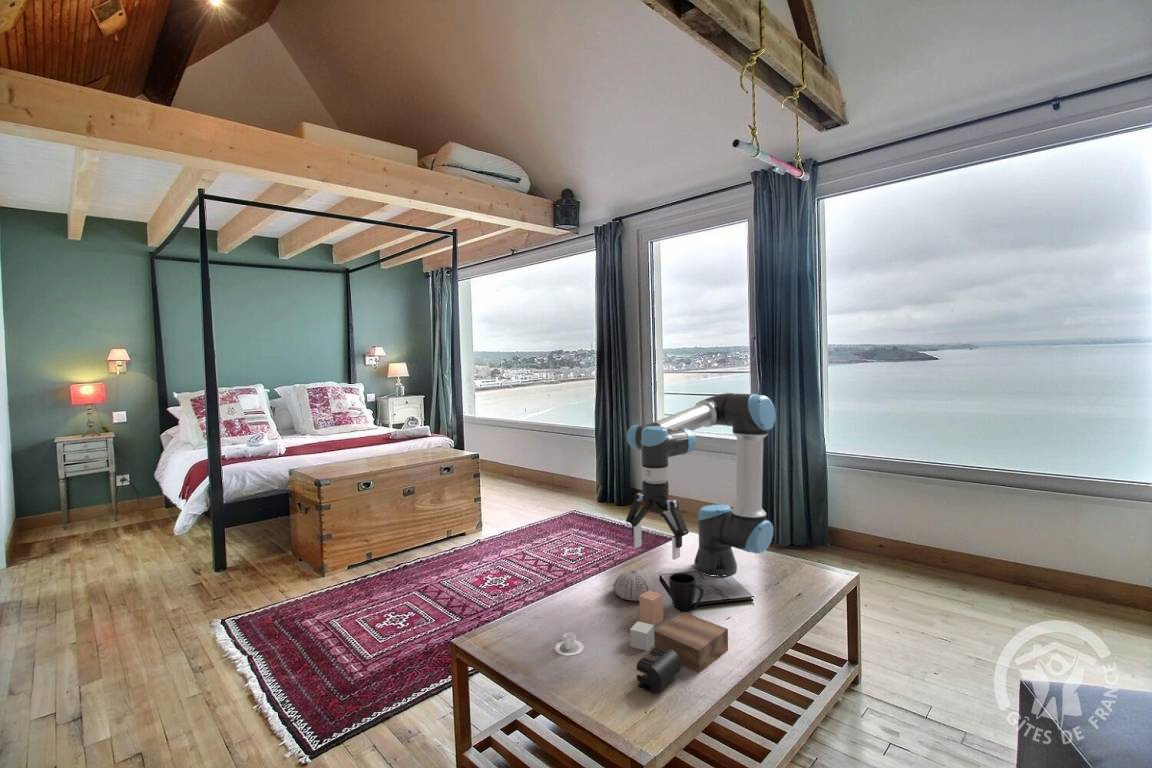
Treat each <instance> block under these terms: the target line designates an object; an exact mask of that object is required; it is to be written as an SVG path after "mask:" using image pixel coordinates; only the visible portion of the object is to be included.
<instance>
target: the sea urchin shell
mask: <svg viewBox="0 0 1152 768" xmlns="http://www.w3.org/2000/svg"><path fill="white" fill-rule="evenodd" d="M612 587H613V591H614V592H615V594H616V595H617V596H618V597H619V598H621V599H623V600H627V601H634V602H639V595H641V594H643V593H645V592H647V591H649V590H651V591H654V590H655V589H654V588H655V587H654V584H653V581H652V580H651V579H650V578H649V576H648V575H647V574H646V573H645V572H643V571H642V570H638V569H628V570H625V571H624V572H622V573H621V574H619V576H617V578H615V580H614V583H613V585H612Z"/></svg>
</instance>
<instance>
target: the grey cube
mask: <svg viewBox="0 0 1152 768" xmlns="http://www.w3.org/2000/svg"><path fill="white" fill-rule="evenodd" d="M654 631H655V626H654V625H651V624H647V623H643V622H640V620H638V621H636V622H635V623H634V624H633V626H632V627H630V628H629V634H630V635H629V636H630V637H629V639H630V644H629V645H630V647H632V648H635V649H639V650H643V651H646V652H648V651H649V650H650V648H651V647H652V646H653V645H654V644H655V641H654Z"/></svg>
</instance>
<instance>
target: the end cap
mask: <svg viewBox="0 0 1152 768" xmlns="http://www.w3.org/2000/svg"><path fill="white" fill-rule="evenodd" d="M649 654H650V655H652V656H655V657H656V658H655V659H649V658H647V657H644V656H643V657H642V658H641V659H640V660H638V661H637V663H636V671H638V672H641V673H643V675H640V674H637V675H636V681H637V682H638V685H637V687H638V688H639V689H641V688H642V689H641V690H644V691H646V692H648V693H650V694H655V693H657V692H659V691H661V690H662V689H663V687H665V686H666V685H667V684H668V683H669V682H670V681H671V680H672V678H674V677H675V675H677V673H679V672H680V671H681V668H682V665H681V660H680V657H679V656H678V654H677V653H676V652H675V651H673V650H672V649H669V650H668V651H667V652H666V651H663V650H661V649H658V648H655V647H654V648H653V649H651V650H650V651H649Z"/></svg>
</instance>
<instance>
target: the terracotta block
mask: <svg viewBox="0 0 1152 768" xmlns="http://www.w3.org/2000/svg"><path fill="white" fill-rule="evenodd" d="M638 602H639V622H643V623H647V624H651V625H654V627H655V626H657V625H659V624H660V623H662V622H664V595H663V594H662V593H658V592H656V591H654V590H653V591H651V590H649V591H647V592H645V593H643V594H641V595H639V601H638Z"/></svg>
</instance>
